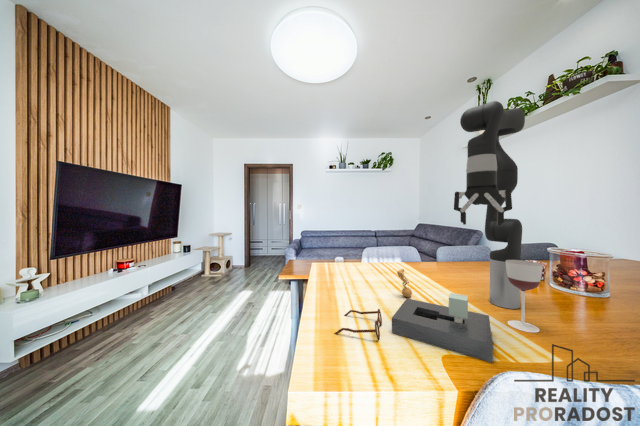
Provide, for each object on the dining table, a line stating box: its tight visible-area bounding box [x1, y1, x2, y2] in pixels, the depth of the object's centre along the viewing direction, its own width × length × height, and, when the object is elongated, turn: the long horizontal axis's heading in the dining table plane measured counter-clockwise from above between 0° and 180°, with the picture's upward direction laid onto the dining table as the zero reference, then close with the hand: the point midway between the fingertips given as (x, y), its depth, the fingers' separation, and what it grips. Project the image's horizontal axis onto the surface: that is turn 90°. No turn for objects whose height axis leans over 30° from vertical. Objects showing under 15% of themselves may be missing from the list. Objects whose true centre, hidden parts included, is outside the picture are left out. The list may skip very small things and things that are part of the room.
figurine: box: [396, 268, 413, 298], centre depth 95 cm, size 8×6×12 cm
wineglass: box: [506, 259, 543, 333], centre depth 71 cm, size 8×9×20 cm
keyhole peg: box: [448, 292, 469, 324], centre depth 65 cm, size 5×5×12 cm
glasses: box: [333, 308, 383, 340], centre depth 71 cm, size 13×13×5 cm
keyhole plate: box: [391, 298, 494, 364], centre depth 68 cm, size 24×18×4 cm
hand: (481, 224), depth 69 cm, fingers open, 8 cm apart
